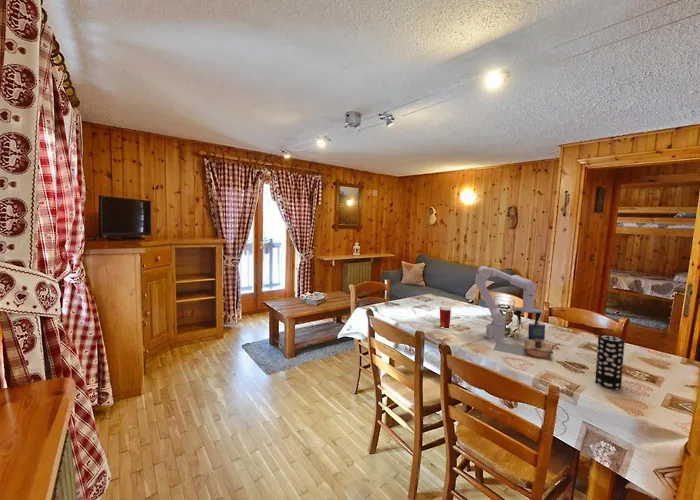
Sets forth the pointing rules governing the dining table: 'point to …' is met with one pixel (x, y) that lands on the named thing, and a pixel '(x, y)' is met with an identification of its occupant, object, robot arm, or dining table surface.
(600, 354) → the white-spotted black cylinder
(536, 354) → the bowl
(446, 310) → the pint of red drink
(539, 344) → the lid
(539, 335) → the flask
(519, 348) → the mat
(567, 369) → the dining table surface
